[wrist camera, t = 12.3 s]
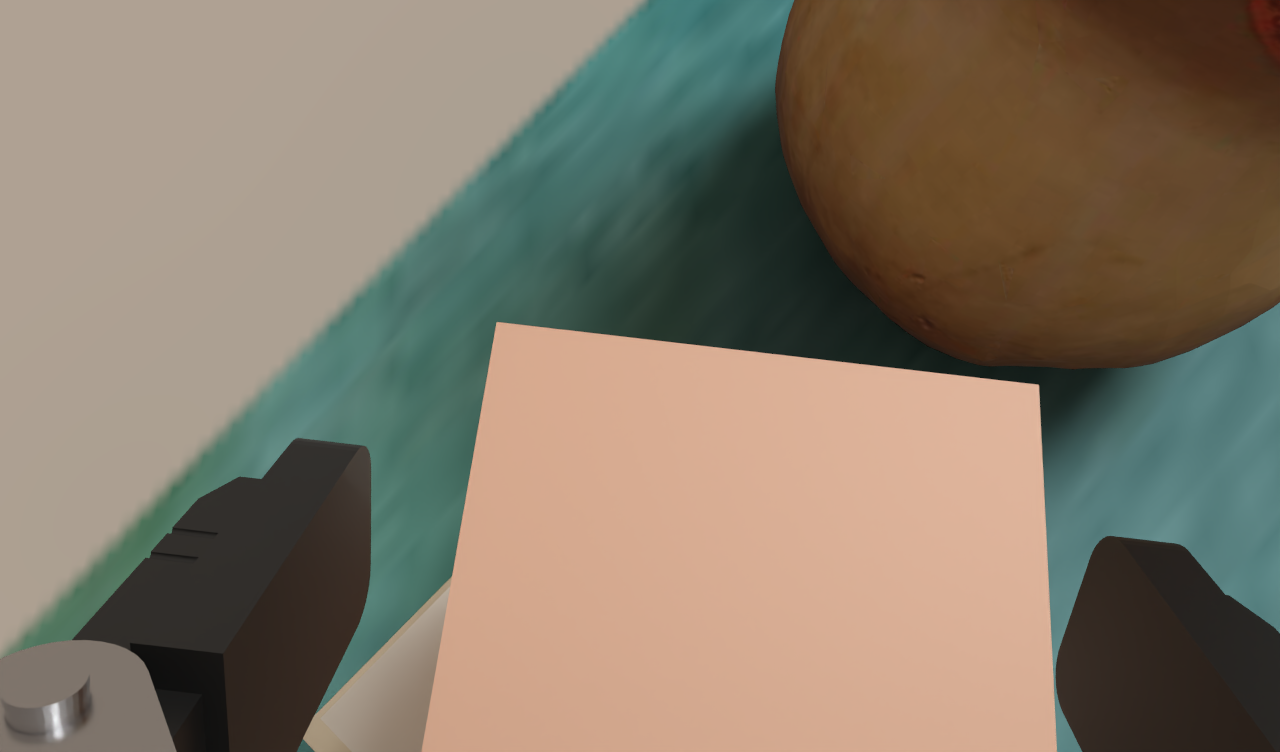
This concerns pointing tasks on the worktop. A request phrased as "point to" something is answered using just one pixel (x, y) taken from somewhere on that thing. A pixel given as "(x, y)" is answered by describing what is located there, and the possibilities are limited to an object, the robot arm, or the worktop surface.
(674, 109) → the worktop surface
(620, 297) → the worktop surface
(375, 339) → the worktop surface
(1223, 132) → the butternut squash
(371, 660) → the beige stepped block
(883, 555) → the salmon pink rectangular block
